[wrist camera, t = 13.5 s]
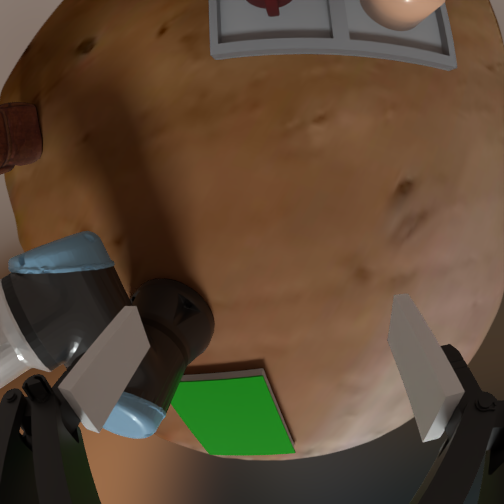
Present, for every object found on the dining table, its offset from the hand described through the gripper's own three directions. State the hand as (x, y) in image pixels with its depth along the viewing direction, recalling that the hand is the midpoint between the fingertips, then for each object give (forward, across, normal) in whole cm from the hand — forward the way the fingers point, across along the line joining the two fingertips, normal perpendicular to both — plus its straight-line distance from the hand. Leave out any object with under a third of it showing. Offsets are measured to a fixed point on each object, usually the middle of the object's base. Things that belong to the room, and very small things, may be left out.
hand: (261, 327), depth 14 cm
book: (+28, -13, -44) cm, 54 cm away
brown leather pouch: (+28, -42, +19) cm, 54 cm away
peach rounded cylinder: (+26, +18, +28) cm, 42 cm away
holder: (+26, +10, +29) cm, 40 cm away
